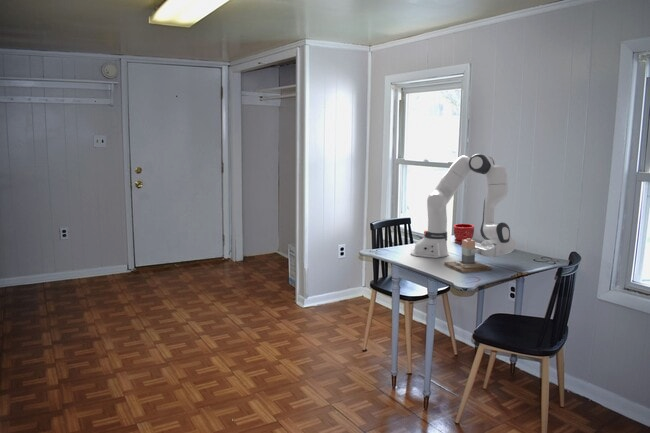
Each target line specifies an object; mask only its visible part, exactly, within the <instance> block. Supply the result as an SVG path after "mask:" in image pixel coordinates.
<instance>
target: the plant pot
mask: <svg viewBox="0 0 650 433" xmlns="http://www.w3.org/2000/svg"><path fill="white" fill-rule="evenodd" d="M474 234H475V226H474V225H473V224H472V223H471V224H469V223H457V224H454V225H453V235H454V237H455V239H454V242H455V243H456V244H460V245H462V240H465V239H467V238H470V239H471V240H473V237H474Z"/></svg>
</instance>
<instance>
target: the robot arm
mask: <svg viewBox="0 0 650 433" xmlns="http://www.w3.org/2000/svg"><path fill="white" fill-rule="evenodd" d="M472 172H474V173H476V174H479V175H484V176H485V177H486V193H485V197H484V201H483V210H482V211H483V213H482V223H481V226H480V229H479V230H480V236H481V237H482V238H483V239H484V240H483V241H482V242H481V243H480V242H476V241H475V250H473V249H471V250H470V253H475V254H478V255H481V256H484V257H494V258H497V257H498V256H500V255H507V254H510V253H512V252H513V251H514V250H515V248H516V242H515V240H514V239H513V237H512V235H511V228H510V227H509V225H508V224H507V223H505V222H495V209H496V206H497V205H498V204H499V203H500V202H501V201H503V200H504V199H505V198H506V197H507V196H508V191H509V186H508V184H509V182H508V175H507V171H506V168H505V167H504V166H503V165H499V164H495V161H494V159H493V157H491V156H489V155H488V154H483V153H476V154H473V155H472V156H471V157H469V156H466V155H461V156H459V157H458V158H457V159H456V160H455V161H454V162H453V163H452V164H451V166H450V167H449V169H448V170H447V171H446V173H445V174H444V175H443V176H442V178H441V180H440V181H439V183H438V184H437V186H436V187H435V188H434V190H433V191H432V192H431V193H430V194H429V195H428V196H427V201H426V206H427V218H428V219H427V230H424V232H423V234H424V237H422V238H420V240H418V241H417V242H416V243H415V246H414V249H412V250H411V251H410V255H411V256H414V257H424V258H432V259H433V258H435V259H438V258H444V257H448V256H449V252H448V251H449V250H448V244H447V243H448V242H447V241H448V231H447V228H448V224H447V223H448V217H447V215H448V214H447V205H448V203H449V202H450V200H451V199H452V198H453V196H454V195H455V194H456V193H457V191H458V190H459V188H460V187H461V186H462V184H463V183H464V181H465V180H466V179H467V178H468V176H469V175H470V174H471V173H472Z"/></svg>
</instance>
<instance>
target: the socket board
mask: <svg viewBox="0 0 650 433" xmlns="http://www.w3.org/2000/svg"><path fill="white" fill-rule="evenodd" d="M443 264H444V265H443V266H446V267H448V268H450V269H452V270H455V271H457V272H460V273H461V274H468V273H475V272H476V273H477V272H486V271H492V266H490V265H488V264H487V265H486V264H484V263H482V262H480V261H476V260H475V262H472V263H465V262H463V261H462V260H456V261H454V260H453V261H445V262H444V263H443Z"/></svg>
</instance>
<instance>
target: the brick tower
mask: <svg viewBox="0 0 650 433" xmlns="http://www.w3.org/2000/svg"><path fill="white" fill-rule="evenodd" d="M475 242H476V240H473V239H472V240H471V239H470V238H467V239H465V240H462V244H461V261H463V262H465V263H472V262H475V261H476V260H475V259H476V253H470V250H471V249H473V250H475Z"/></svg>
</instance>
